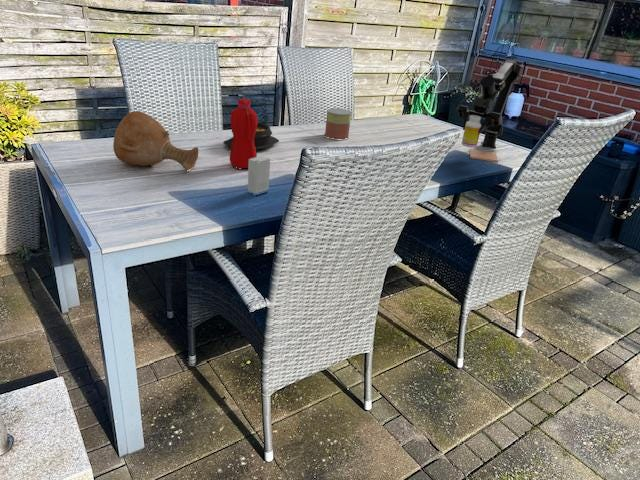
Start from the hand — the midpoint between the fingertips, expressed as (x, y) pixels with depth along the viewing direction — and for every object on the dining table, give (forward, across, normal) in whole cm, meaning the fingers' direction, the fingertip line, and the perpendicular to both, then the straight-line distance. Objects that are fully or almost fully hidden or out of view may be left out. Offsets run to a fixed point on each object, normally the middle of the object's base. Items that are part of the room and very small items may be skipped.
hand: (471, 131), depth 215 cm
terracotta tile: (0, +4, +18) cm, 19 cm away
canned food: (+22, -57, -4) cm, 61 cm away
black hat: (+51, -72, -34) cm, 94 cm away
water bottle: (+65, -56, -49) cm, 99 cm away
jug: (+82, -76, -67) cm, 131 cm away
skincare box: (+76, -35, -60) cm, 103 cm away
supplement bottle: (+4, 0, +6) cm, 7 cm away
